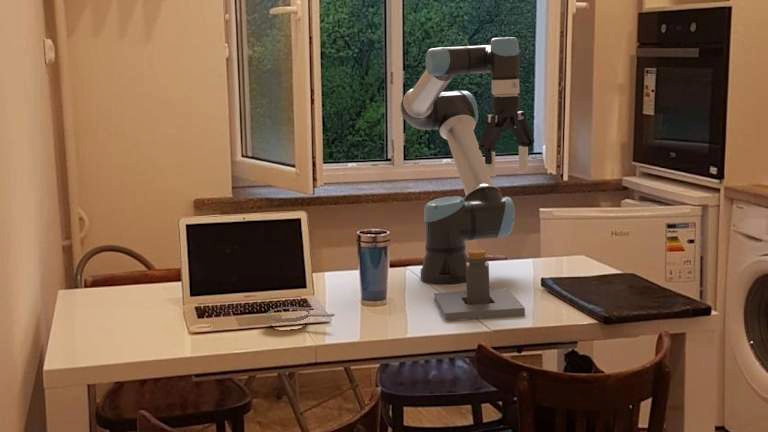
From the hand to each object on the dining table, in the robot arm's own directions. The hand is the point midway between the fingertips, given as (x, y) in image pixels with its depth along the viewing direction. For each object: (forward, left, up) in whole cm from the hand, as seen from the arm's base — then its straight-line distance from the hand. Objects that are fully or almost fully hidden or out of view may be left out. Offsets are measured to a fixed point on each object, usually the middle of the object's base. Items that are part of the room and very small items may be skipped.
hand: (507, 173), depth 273 cm
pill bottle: (-2, -11, -32) cm, 34 cm away
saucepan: (-14, -63, -32) cm, 72 cm away
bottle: (+9, -23, -32) cm, 40 cm away
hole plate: (+9, -23, -32) cm, 40 cm away
